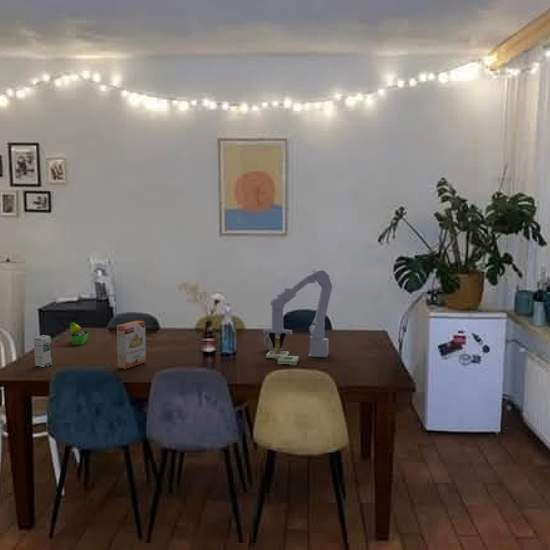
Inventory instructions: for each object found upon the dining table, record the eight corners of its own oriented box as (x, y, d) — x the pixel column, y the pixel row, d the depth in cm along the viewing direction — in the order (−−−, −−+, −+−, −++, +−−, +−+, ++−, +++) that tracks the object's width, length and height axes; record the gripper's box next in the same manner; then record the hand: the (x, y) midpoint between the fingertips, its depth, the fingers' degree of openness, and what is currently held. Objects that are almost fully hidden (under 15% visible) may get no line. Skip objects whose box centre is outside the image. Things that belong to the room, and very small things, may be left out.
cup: (281, 352, 355) (281, 335, 353) (262, 351, 357) (262, 334, 355) (283, 348, 362) (283, 332, 360) (265, 347, 364) (265, 331, 362)
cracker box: (126, 370, 323) (125, 326, 320) (117, 368, 327) (115, 325, 324) (147, 363, 335) (145, 321, 332) (137, 361, 338) (136, 319, 335)
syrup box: (43, 368, 327) (42, 338, 325) (34, 366, 330) (33, 337, 328) (52, 365, 332) (51, 335, 330) (44, 363, 335) (42, 334, 333)
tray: (289, 355, 349) (289, 351, 349) (285, 359, 340) (285, 356, 340) (269, 354, 351) (269, 350, 351) (266, 358, 342) (266, 355, 342)
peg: (281, 353, 346) (281, 337, 345) (278, 354, 343) (278, 338, 342) (276, 352, 347) (276, 337, 346) (273, 353, 345) (273, 338, 343)
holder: (298, 360, 339) (298, 356, 339) (295, 365, 330) (295, 361, 330) (280, 359, 341) (280, 355, 340) (277, 364, 332) (277, 360, 332)
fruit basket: (83, 345, 371) (82, 324, 369) (67, 345, 371) (66, 324, 370) (90, 340, 382) (89, 320, 381) (74, 340, 382) (73, 320, 381)
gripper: (293, 320, 345) (293, 346, 347) (265, 319, 348) (265, 345, 350) (290, 323, 339) (290, 349, 341) (262, 322, 341) (262, 348, 343)
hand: (277, 347), depth 345 cm, fingers closed on peg, 3 cm apart
